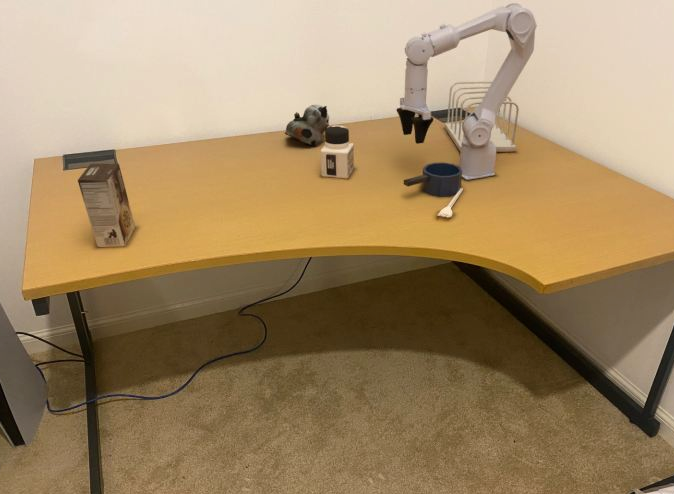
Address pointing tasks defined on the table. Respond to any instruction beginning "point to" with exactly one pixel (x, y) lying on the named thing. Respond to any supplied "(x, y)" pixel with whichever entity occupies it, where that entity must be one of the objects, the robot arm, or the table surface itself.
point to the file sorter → (497, 134)
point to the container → (337, 153)
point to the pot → (439, 179)
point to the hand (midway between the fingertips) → (413, 138)
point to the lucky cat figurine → (309, 125)
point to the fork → (449, 206)
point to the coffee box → (107, 204)
